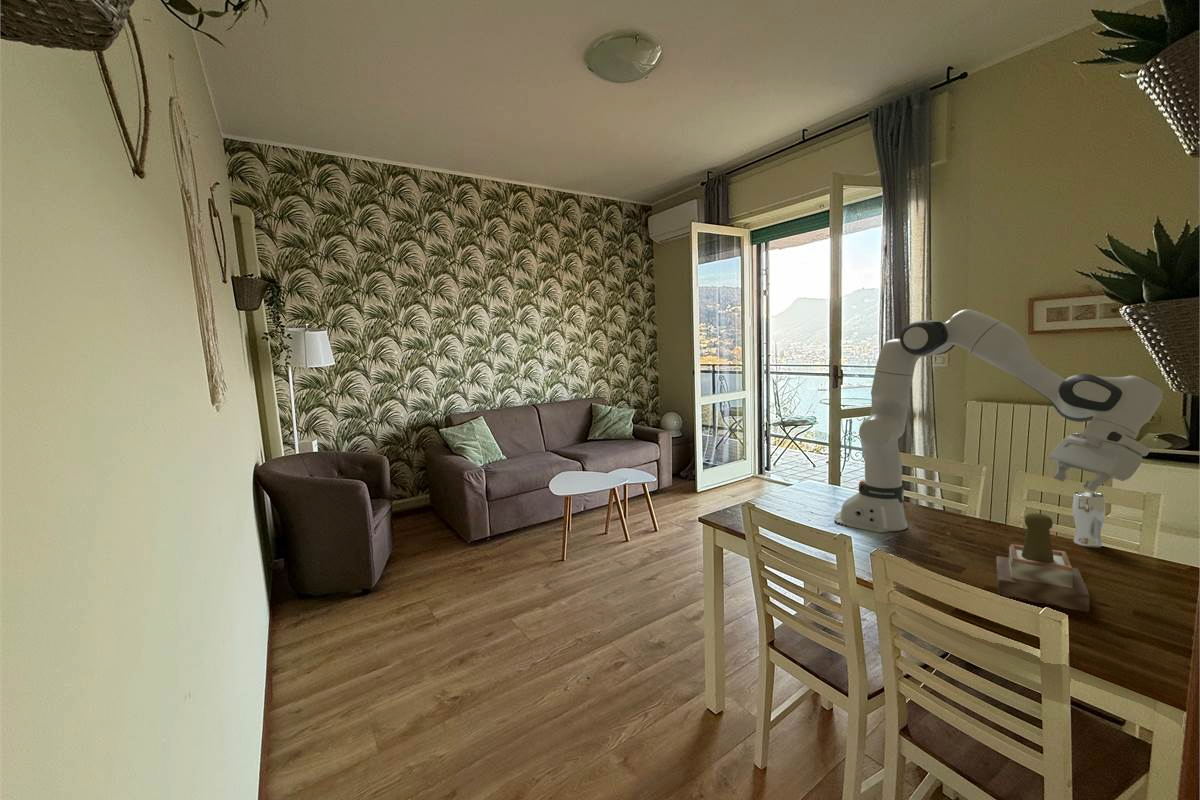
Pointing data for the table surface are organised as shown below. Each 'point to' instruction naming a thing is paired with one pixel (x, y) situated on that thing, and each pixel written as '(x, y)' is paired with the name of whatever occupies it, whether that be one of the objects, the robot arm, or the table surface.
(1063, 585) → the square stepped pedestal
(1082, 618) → the table surface
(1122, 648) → the table surface
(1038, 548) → the cork
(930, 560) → the table surface
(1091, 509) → the beer glass
